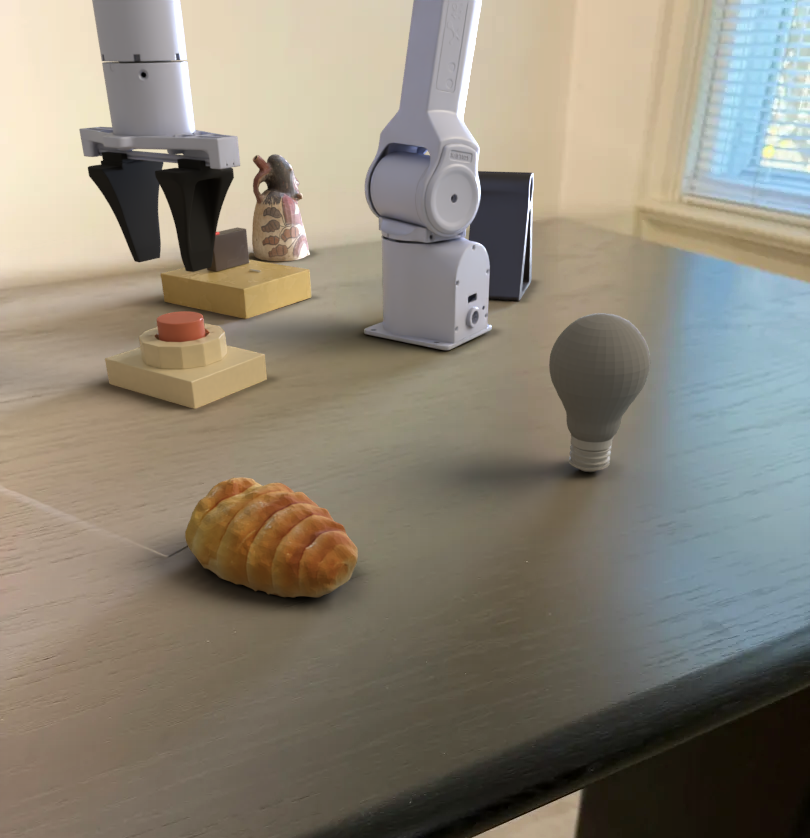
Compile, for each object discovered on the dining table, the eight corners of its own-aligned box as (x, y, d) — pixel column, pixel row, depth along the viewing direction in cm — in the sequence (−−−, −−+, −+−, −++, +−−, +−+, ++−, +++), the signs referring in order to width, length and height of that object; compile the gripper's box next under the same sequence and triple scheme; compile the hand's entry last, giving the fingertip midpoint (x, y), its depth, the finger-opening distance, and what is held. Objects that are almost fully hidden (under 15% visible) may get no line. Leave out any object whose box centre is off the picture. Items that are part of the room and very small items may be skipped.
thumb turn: (240, 261, 97) (236, 224, 95) (249, 263, 96) (246, 226, 94) (206, 270, 93) (202, 232, 92) (216, 272, 93) (211, 233, 91)
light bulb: (571, 442, 61) (584, 296, 56) (652, 465, 58) (673, 312, 53) (523, 471, 57) (533, 317, 52) (607, 498, 54) (626, 335, 49)
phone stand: (518, 301, 93) (525, 179, 87) (463, 298, 95) (465, 177, 89) (531, 281, 101) (538, 167, 95) (480, 278, 102) (483, 166, 96)
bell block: (267, 379, 73) (263, 331, 71) (194, 409, 67) (188, 358, 65) (183, 358, 78) (177, 313, 76) (108, 384, 72) (100, 336, 70)
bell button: (215, 337, 71) (212, 315, 70) (181, 348, 68) (178, 326, 67) (184, 330, 73) (181, 308, 72) (150, 341, 70) (146, 319, 69)
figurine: (316, 258, 112) (310, 155, 106) (260, 263, 110) (251, 158, 104) (300, 247, 118) (294, 149, 112) (247, 252, 115) (238, 152, 109)
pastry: (389, 566, 47) (387, 502, 45) (301, 626, 42) (294, 558, 40) (264, 516, 52) (257, 457, 50) (173, 565, 47) (162, 501, 45)
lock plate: (311, 297, 95) (309, 267, 94) (246, 319, 88) (243, 287, 87) (227, 282, 102) (224, 253, 100) (160, 301, 94) (156, 271, 93)
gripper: (30, 62, 62) (68, 262, 68) (173, 64, 54) (200, 287, 61) (112, 60, 67) (140, 246, 73) (253, 61, 59) (270, 268, 66)
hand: (172, 264), depth 68 cm, fingers open, 5 cm apart
